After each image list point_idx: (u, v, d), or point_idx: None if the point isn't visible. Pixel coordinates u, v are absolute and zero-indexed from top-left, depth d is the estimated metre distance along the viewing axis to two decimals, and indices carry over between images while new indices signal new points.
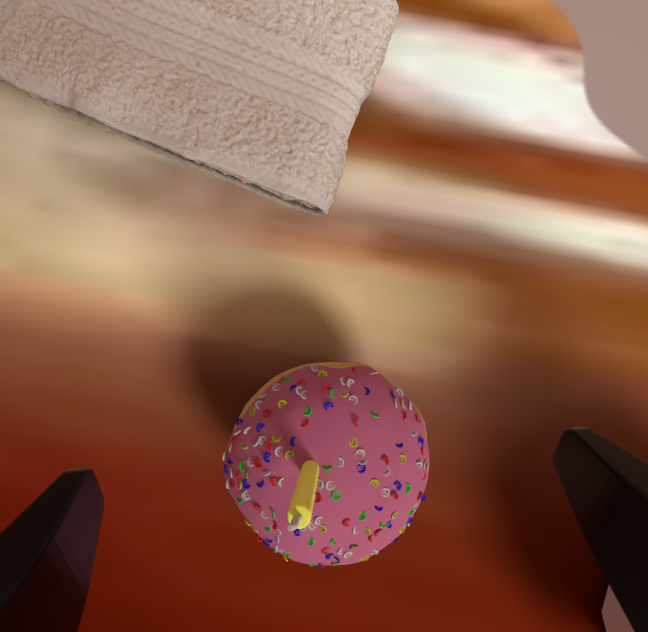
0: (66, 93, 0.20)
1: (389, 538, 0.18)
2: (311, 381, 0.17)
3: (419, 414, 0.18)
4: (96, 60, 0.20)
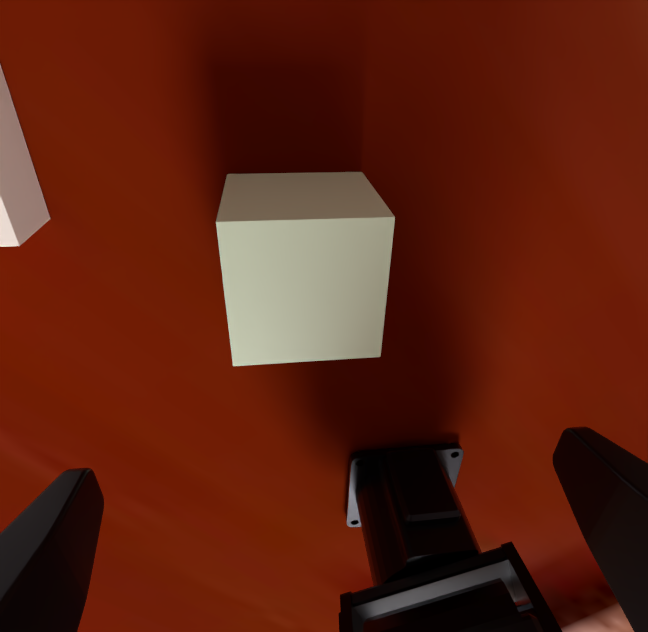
0: None
1: None
2: None
3: None
4: None
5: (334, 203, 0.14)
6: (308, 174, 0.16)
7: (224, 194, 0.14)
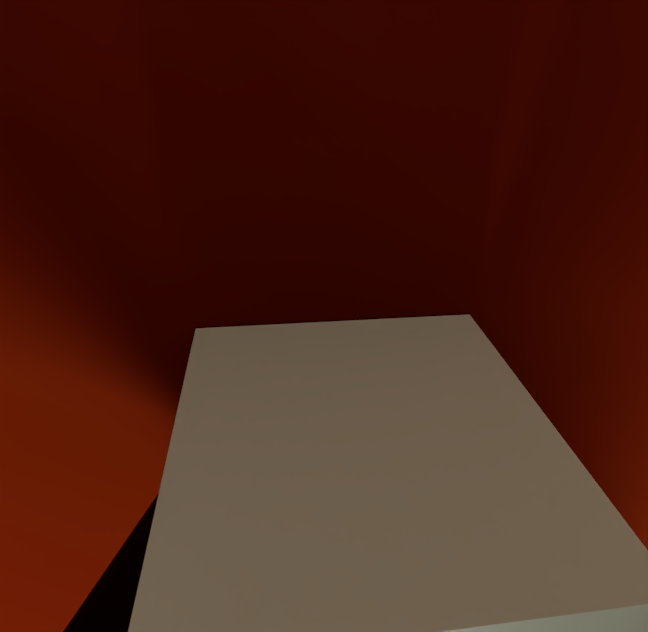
0: None
1: None
2: None
3: None
4: None
5: (467, 493, 0.05)
6: (365, 330, 0.08)
7: (176, 439, 0.06)
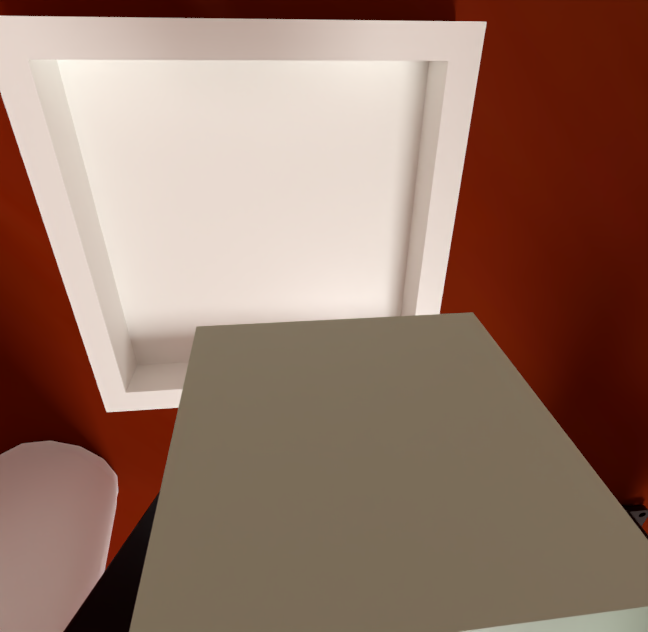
0: None
1: None
2: None
3: None
4: None
5: (471, 492, 0.05)
6: (368, 328, 0.08)
7: (177, 438, 0.06)
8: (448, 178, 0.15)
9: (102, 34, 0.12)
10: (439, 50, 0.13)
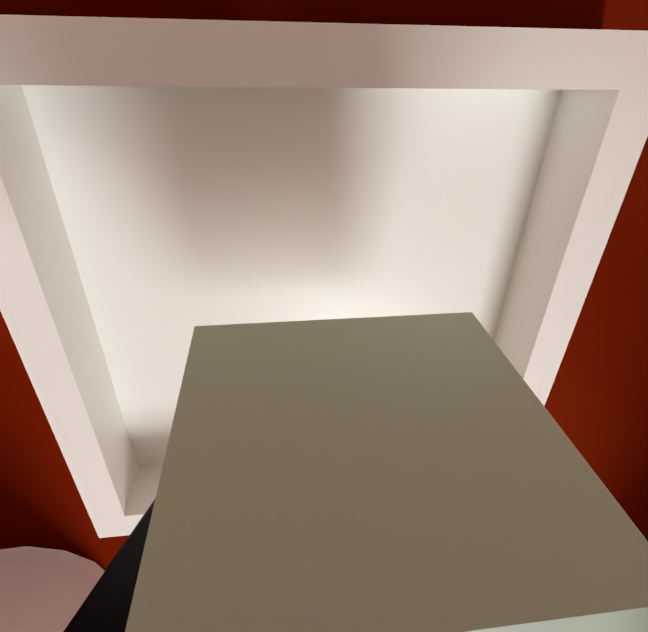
0: None
1: None
2: None
3: None
4: None
5: (470, 492, 0.05)
6: (366, 327, 0.08)
7: (175, 438, 0.06)
8: (586, 251, 0.11)
9: (90, 45, 0.07)
10: (610, 73, 0.09)
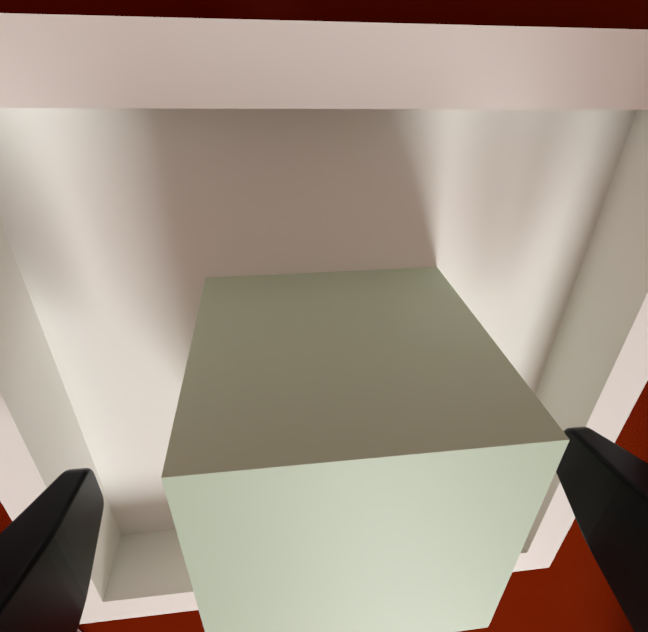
0: None
1: None
2: None
3: None
4: None
5: (419, 381, 0.07)
6: (348, 278, 0.09)
7: (194, 349, 0.07)
8: None
9: (29, 53, 0.05)
10: None
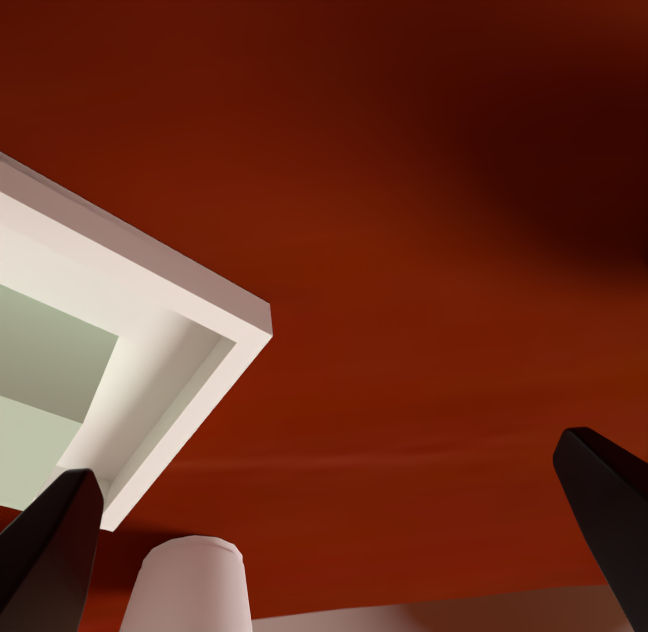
0: None
1: None
2: None
3: None
4: None
5: None
6: None
7: None
8: (5, 209, 0.13)
9: None
10: None
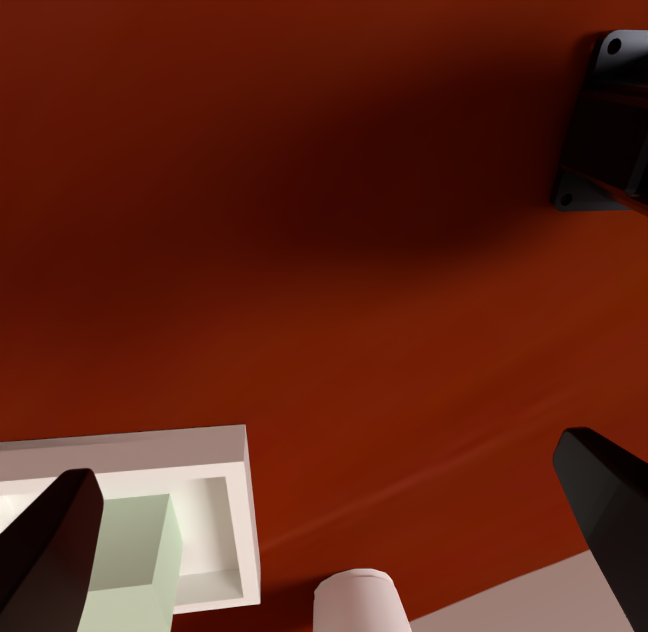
0: None
1: None
2: None
3: None
4: None
5: None
6: None
7: None
8: (42, 484, 0.21)
9: None
10: None
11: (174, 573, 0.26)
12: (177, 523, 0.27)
